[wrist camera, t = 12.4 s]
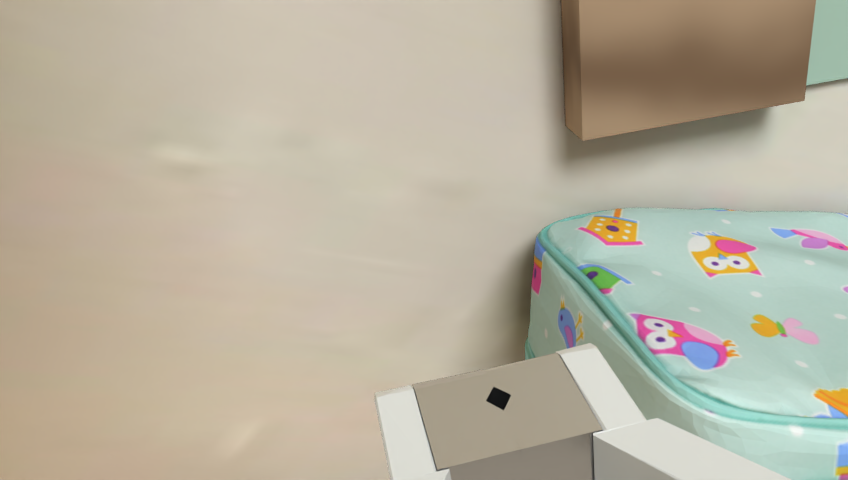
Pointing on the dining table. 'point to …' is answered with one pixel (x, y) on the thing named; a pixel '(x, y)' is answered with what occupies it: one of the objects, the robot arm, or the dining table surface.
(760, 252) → the lunch box
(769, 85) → the walnut deck
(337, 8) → the dining table surface
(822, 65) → the sage mat
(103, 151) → the dining table surface
